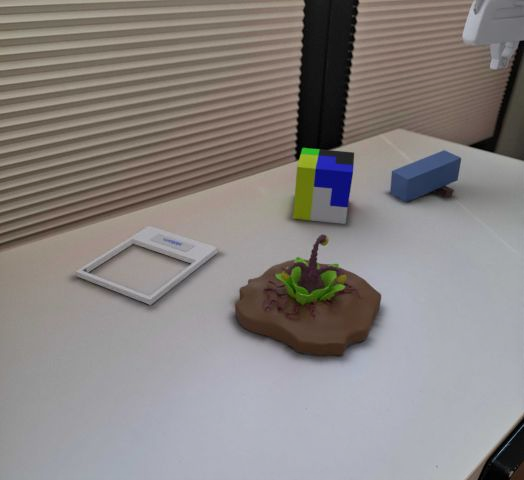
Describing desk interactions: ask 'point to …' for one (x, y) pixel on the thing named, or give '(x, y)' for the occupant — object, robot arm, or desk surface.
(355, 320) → the plant
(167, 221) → the desk surface
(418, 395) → the desk surface
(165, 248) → the photo frame
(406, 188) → the toy block
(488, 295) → the desk surface
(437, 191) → the bar
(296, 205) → the puzzle toy
